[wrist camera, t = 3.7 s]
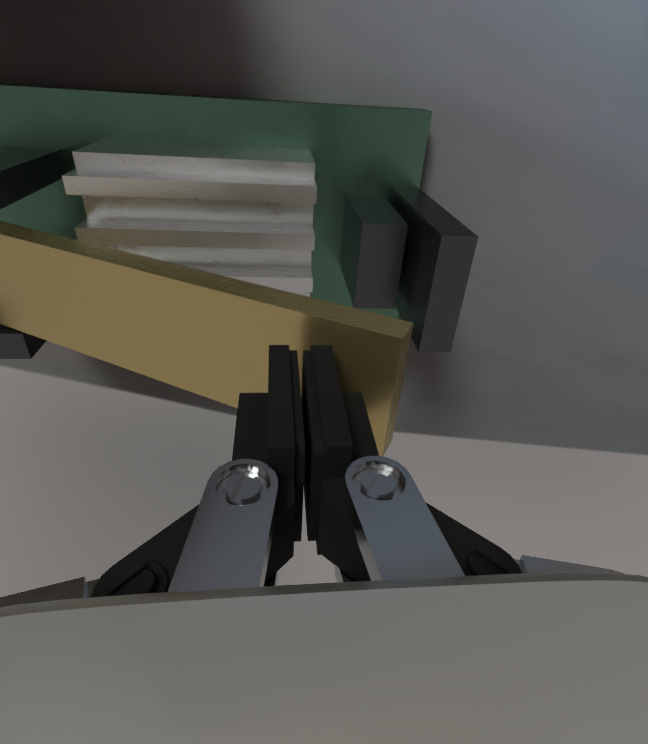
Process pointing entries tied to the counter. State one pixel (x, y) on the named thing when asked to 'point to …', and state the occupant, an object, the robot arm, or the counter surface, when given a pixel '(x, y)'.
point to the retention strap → (191, 322)
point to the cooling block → (241, 195)
